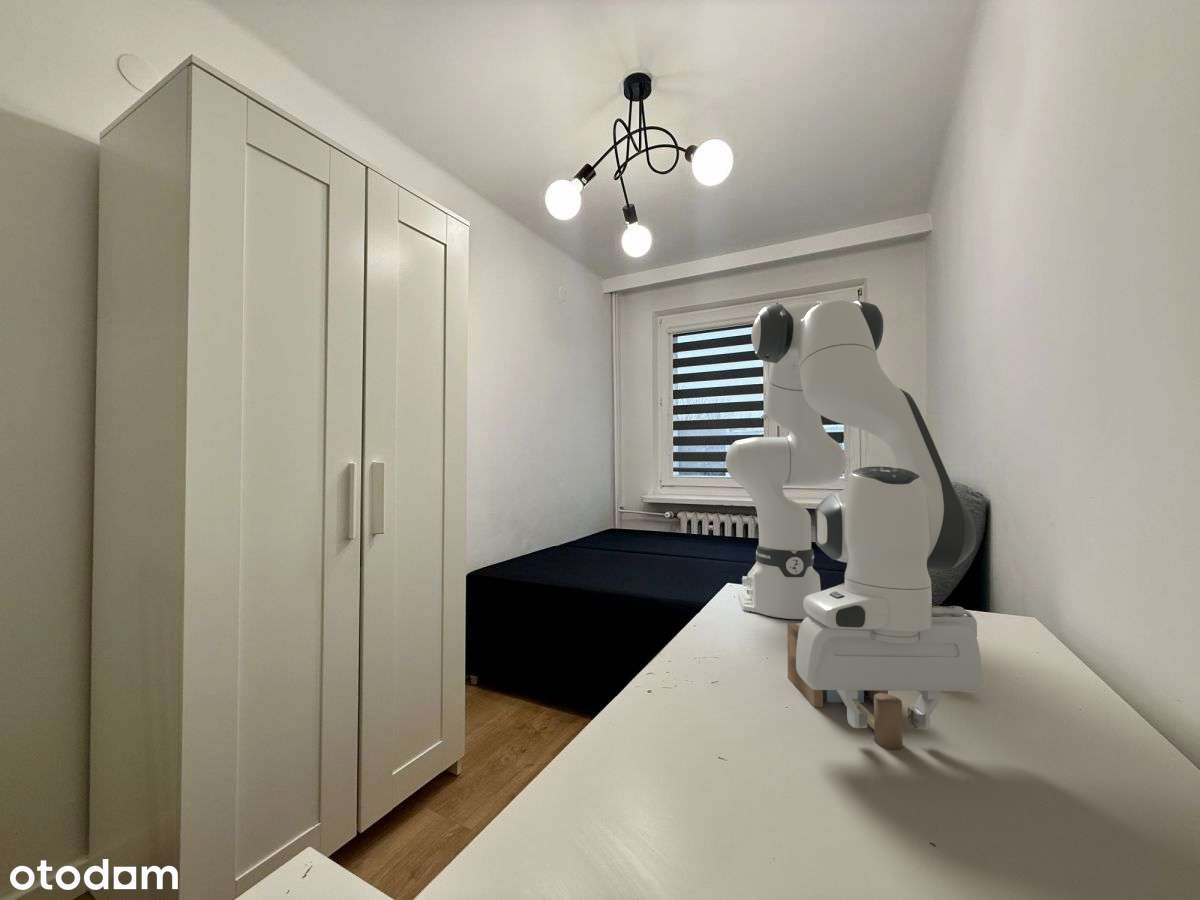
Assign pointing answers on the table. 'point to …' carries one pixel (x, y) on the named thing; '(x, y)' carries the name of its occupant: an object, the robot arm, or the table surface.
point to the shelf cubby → (810, 694)
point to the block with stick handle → (879, 717)
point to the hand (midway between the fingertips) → (887, 725)
